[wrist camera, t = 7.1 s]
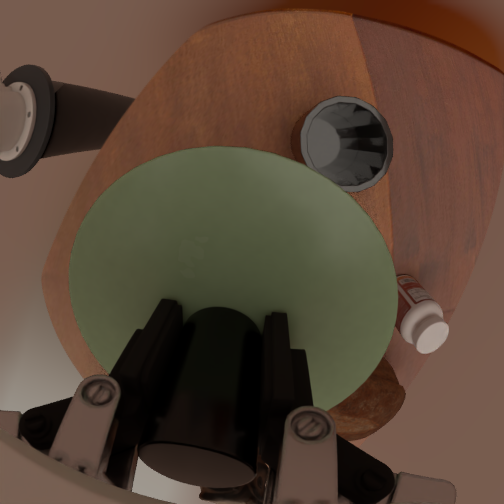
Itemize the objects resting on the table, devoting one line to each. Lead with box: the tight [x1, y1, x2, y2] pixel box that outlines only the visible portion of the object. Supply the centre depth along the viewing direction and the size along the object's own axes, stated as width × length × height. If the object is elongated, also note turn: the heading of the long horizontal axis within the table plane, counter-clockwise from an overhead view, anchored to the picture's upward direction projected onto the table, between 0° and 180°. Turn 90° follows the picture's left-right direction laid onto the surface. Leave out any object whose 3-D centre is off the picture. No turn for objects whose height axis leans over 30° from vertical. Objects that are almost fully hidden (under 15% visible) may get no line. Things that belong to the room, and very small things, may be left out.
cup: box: [291, 96, 393, 192], centre depth 26 cm, size 8×8×9 cm
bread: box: [327, 357, 406, 441], centre depth 36 cm, size 14×28×12 cm, turn 63°
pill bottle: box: [395, 275, 449, 354], centre depth 31 cm, size 6×6×11 cm
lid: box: [69, 146, 398, 488], centre depth 8 cm, size 14×14×7 cm
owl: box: [199, 447, 268, 504], centre depth 40 cm, size 13×13×20 cm
